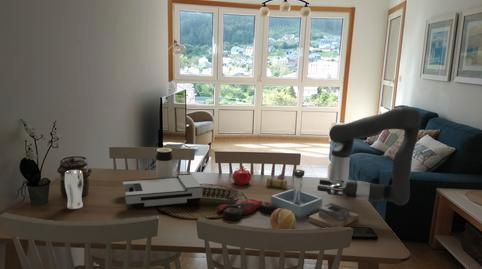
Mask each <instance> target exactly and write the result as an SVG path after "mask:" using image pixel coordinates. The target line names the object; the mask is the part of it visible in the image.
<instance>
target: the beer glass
mask: <svg viewBox="0 0 482 269" xmlns="http://www.w3.org/2000/svg"><path fill="white" fill-rule="evenodd" d="M64 188H65V192H66V195H67V204H66V208H67V209H68V210H69V209H70V210H78V209H81V208H83V205H84V204H83V200H82V196H83V195H82V194H83V188H84V175H83V170H81V169H80V170H79V169H70V170H67V171H65V172H64Z"/></svg>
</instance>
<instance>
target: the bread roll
mask: <svg viewBox="0 0 482 269" xmlns="http://www.w3.org/2000/svg"><path fill="white" fill-rule="evenodd" d="M269 222H270V224H269V225H270V227H271V229H272V228H273V229H292V230H293V228H294V226H295V224H296V222H297V221H296V217H295V215H294V214H293V212H292V211H290V210H288V209H283V208H278V209H276V210H275V211H274V212H273V213H271V215H270V218H269ZM273 229H272V230H273Z"/></svg>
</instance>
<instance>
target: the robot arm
mask: <svg viewBox="0 0 482 269" xmlns="http://www.w3.org/2000/svg"><path fill="white" fill-rule="evenodd" d="M421 124H422V114H421V112H420V110H418V109H416V108H414V107H405V106H398V107H394V108H392V109H390V110H388V111H385V112H382V113H378V114H375V115H370V116H367V117H362V118H360V119H357V120H354V121H353V120H352V121H350V122H349V123H344V124H336V125H335V124H334V125H333V126H332V127H331V128H330V130H329V133H328V134H329V136H328V137H329V138H330V140H331V141H332V142H333V143H337V144H339V145H337V146H335V147H334V148H332V150H331V155H330V156H331V158H330V168H329V178H328V180H327V179H319V182H318V184H319V185H317V191H318V192H319V191H320V192H326V194H327V195H332V196H340V197H342V196H344V195H345V196H344V197H346V198H348V199H354V200H355V199H356V200H365V201H366V200H368V201H375V202H381V201H386V202H392V203H394V204H395V205H398V206H403V205H405V204H408V203H409V200H410V196H411V183H410V179H411V173H412V172H411V171H412V163H413V162H412V161H413V155H414V151H415V146H416V143H417V141H418V136H419V132H420V128H421ZM388 130H400V131H401V130H403V131H404V133H403V134H404V136H403V138H402V139H403V140H402V142H401V144H400V146H399V148H398V150H397V151H396V153H395V154H394V157H393V160H392V172H391V178H392V184H380V183H373V182H372V183H371V182H366V181H361V180H352V179H349V173H350V169H349V168H350V161H351V160H350V159H351V154H352V152H353V147H354V146H353V145H354V140H355V139H367V138H372V137H377V136H379V135H380V134H381V133H383V131H388ZM343 194H344V195H343Z"/></svg>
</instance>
